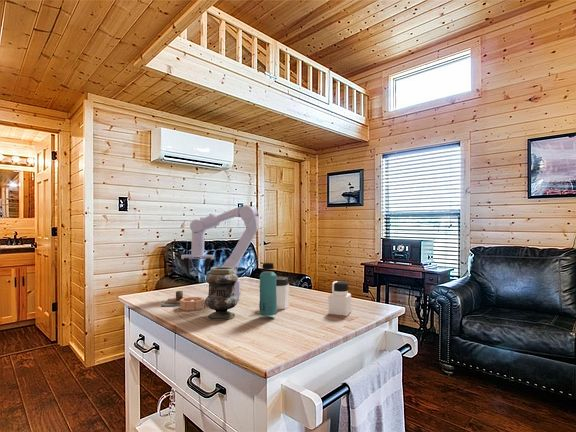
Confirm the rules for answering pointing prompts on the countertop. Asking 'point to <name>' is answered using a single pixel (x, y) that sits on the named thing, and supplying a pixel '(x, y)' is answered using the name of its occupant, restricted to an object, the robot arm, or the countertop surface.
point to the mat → (169, 304)
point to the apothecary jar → (221, 292)
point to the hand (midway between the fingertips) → (197, 274)
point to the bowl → (192, 303)
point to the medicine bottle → (340, 299)
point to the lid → (176, 300)
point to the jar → (282, 292)
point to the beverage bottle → (268, 291)
